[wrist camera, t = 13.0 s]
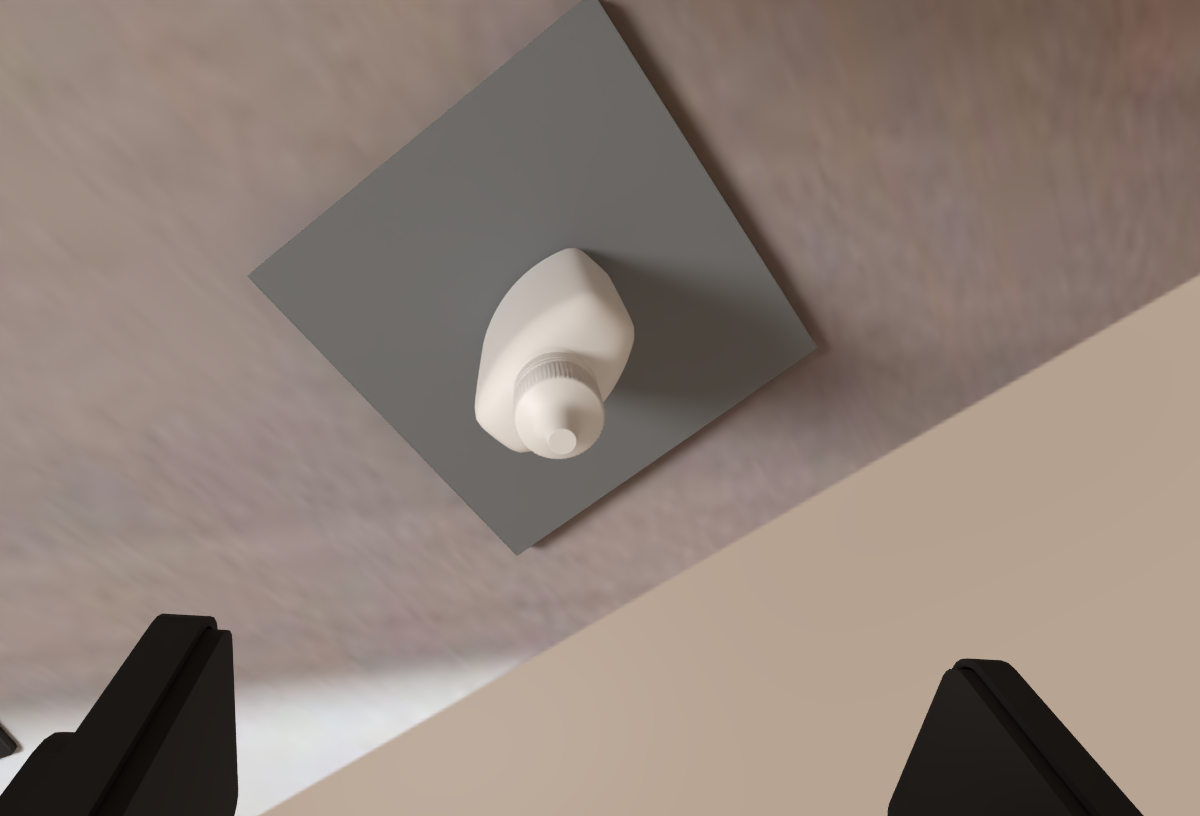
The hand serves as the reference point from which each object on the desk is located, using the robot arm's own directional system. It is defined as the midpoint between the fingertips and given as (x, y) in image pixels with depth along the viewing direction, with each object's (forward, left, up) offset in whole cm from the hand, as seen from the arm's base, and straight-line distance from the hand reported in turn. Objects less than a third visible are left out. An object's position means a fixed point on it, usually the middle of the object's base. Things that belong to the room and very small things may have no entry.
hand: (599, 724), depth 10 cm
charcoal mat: (0, 0, -22) cm, 22 cm away
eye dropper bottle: (0, 0, -21) cm, 21 cm away
